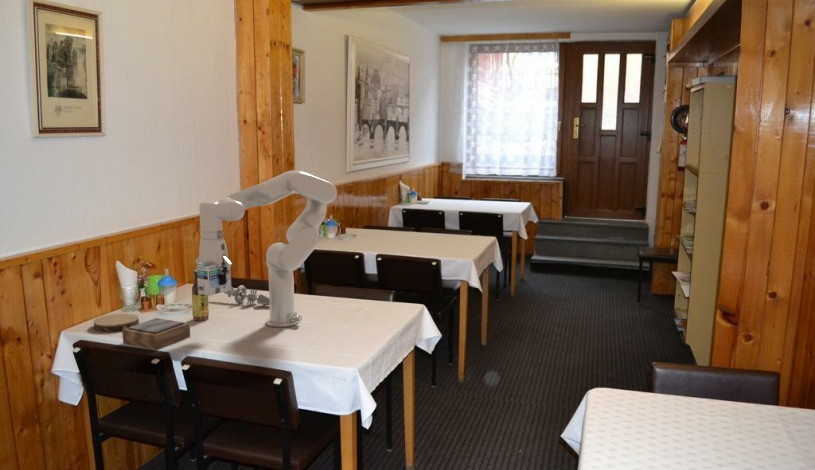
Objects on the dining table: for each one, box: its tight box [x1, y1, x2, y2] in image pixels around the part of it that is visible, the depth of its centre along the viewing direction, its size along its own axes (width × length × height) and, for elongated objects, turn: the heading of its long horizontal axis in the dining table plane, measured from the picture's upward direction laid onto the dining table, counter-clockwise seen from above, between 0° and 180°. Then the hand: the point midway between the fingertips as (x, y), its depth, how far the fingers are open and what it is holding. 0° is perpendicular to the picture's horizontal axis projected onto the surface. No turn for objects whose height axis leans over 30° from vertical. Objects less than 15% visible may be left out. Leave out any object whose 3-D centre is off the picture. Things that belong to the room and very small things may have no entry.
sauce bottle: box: [191, 269, 210, 322], centre depth 264 cm, size 7×6×20 cm
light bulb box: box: [196, 264, 232, 297], centre depth 244 cm, size 11×7×11 cm, turn 148°
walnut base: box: [121, 317, 191, 351], centre depth 240 cm, size 16×16×6 cm
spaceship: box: [223, 285, 270, 307], centre depth 290 cm, size 8×35×8 cm
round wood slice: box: [93, 313, 140, 333], centre depth 257 cm, size 16×16×3 cm
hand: (214, 282), depth 245 cm, fingers closed on light bulb box, 7 cm apart
